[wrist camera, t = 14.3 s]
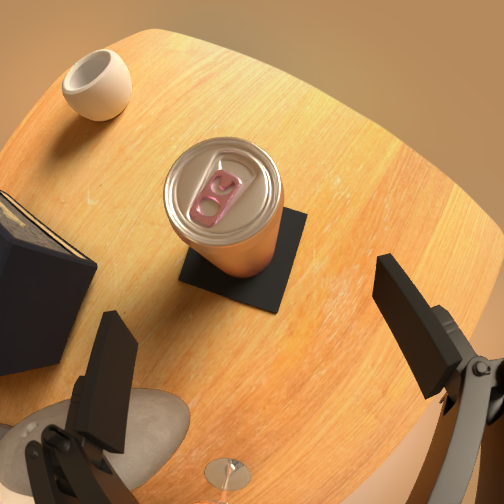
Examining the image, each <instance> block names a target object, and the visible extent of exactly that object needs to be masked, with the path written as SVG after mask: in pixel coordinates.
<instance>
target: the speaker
mask: <svg viewBox="0 0 504 504" xmlns="http://www.w3.org/2000/svg"><path fill="white" fill-rule="evenodd" d="M96 270H97V263H95V262H94V261H92V260H91V259H90V258H88V257H87V256H85V255H84V254H83V253H81V252H80V251H79V250H77V249H76V248H74V247H73V246H72V245H70V244H69V243H68V242H66V241H65V240H64V239H62V238H61V237H60V236H58V235H57V234H56V233H55V232H53V231H52V230H51V229H49V228H48V227H47V226H46V225H44V224H43V223H42V222H41V221H39V220H38V219H37V218H36V217H34V216H33V215H32V214H31V213H30V212H28V211H27V210H26V209H25V208H24V207H22V206H21V205H20V204H19V203H18V202H17V201H15V200H14V199H13V198H12V197H11V196H10V195H9V194H7V193H5V192H3V191H1V190H0V376H4V375H9V374H14V373H19V372H23V371H28V370H32V369H37V368H41V367H45V366H50V365H54V364H58V363H60V360H61V357H62V354H63V351H64V348H65V345H66V342H67V339H68V337H69V334H70V331H71V329H72V326H73V324H74V321H75V318H76V316H77V313H78V311H79V309H80V306H81V304H82V301H83V299H84V297H85V294H86V292H87V290H88V287H89V285H90V283H91V281H92V279H93V276H94V274H95V272H96Z"/></svg>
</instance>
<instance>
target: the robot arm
mask: <svg viewBox="0 0 504 504" xmlns="http://www.w3.org/2000/svg"><path fill="white" fill-rule="evenodd" d="M372 297H373V299H374V301H375V303H376V304H377V306H378V308H379V310H380V312H381V313H382V315H383V317H384V319H385V321H386V322H387V324H388V326H389V328H390V330H391V332H392V333H393V335H394V337H395V339H396V341H397V343H398V345H399V347H400V349H401V351H402V353H403V355H404V356H405V358H406V360H407V362H408V364H409V366H410V368H411V370H412V373H413V375H414V377H415V379H416V381H417V383H418V385H419V387H420V389H421V391H422V393H423V396H424V398H425V400H426V399H428V398H430V397H432V396H434V395H436V394H438V393H440V392H441V390H442V389H443V388H444V387H445V389H446V391H447V392H446V393H445V395H444V396H443V397H442V398H441V400H440V402H439V403H442V402H443V401H444V402H443V406H442V409H441V413H440V417H439V420H438V423H437V426H436V430H435V433H434V436H433V439H432V442H431V445H430V448H429V450H428V453H427V456H426V458H425V461H424V464H423V466H422V469H421V471H420V473H419V476H418V478H417V480H416V483H415V485H414V487H413V489H412V491H411V494H410V496H409V498H408V500H407V502H406V504H461V502H462V500H463V497H464V495H465V492H466V490H467V486H468V484H469V481H470V478H471V475H472V472H473V469H474V466H475V463H476V459H477V456H478V451H479V448H480V444H481V457H480V470H479V478H478V486H477V493H476V499H475V504H504V358H501V359H495V360H488V359H487V358H485V357H483V356H478V355H477V354H476V353H475V351H474V350H473V348H472V347H471V345H470V343H469V342H468V340H467V339H466V337H465V336H464V334H463V333H462V331H461V330H460V328H458V325H457V324H456V322H454V319H453V318H452V316H451V315H450V313H449V312H448V311H447V310H446V309H444V308H443V307H441V306H440V305H437V306H434V307H432V308H430V306H429V305H428V303H427V302H426V301H425V299H424V298H423V296H422V295H421V293H420V292H419V291H418V289H417V288H416V286H415V285H414V284H413V282H412V281H411V280H410V278H409V277H408V276H407V274H406V273H405V272H404V270H403V269H402V268H401V266H400V265H399V264H398V262H397V261H396V260H395V258H394V257H393V256H392V255H391V253H389V254H385V255H381V256H377V263H376V271H375V280H374V287H373V294H372ZM137 349H138V342H137V341H136V340H135V338H134V337H133V335H132V334H131V332H130V331H129V329H128V328H127V327H126V325H125V324H124V322H123V321H122V319H121V318H120V316H119V314H118V313H117V311H116V310H114V311H108V312H104V313H103V316H102V319H101V322H100V325H99V328H98V331H97V335H96V338H95V341H94V345H93V348H92V352H91V355H90V359H89V363H88V366H87V370H86V374H85V376H79V378H78V379H77V381H76V383H75V384H74V388H73V392H72V396H71V401H70V402H71V403H70V405H69V409H68V414H67V419H66V424H65V429H64V430H63V429H61V428H60V427H58V426H57V425H55V424H50V425H48V426H46V427H45V428H44V429H43V431H42V434H41V443H40V442H38V441H36V440H31V441H30V442H28V443H27V445H26V447H25V460H26V466H27V472H28V477H29V482H30V486H31V490H32V495H33V499H34V502H35V504H139V502H138V501H137V500H136V499H135V497H134V496H133V495H132V494H131V492H130V491H129V490H128V488H127V487H126V485H125V484H124V483H123V481H122V480H121V479H120V477H119V476H118V474H117V473H116V471H115V470H114V468H113V467H112V465H111V464H110V462H109V461H108V459H107V458H106V457H105V455H104V454H103V449H104V450H106V451H108V452H109V453H115V454H124V449H125V437H126V427H127V418H128V409H129V401H130V394H131V386H132V380H133V373H134V367H135V361H136V355H137ZM54 476H55V478H56V481H55V478H54Z"/></svg>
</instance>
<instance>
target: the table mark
mask: <svg viewBox="0 0 504 504" xmlns="http://www.w3.org/2000/svg"><path fill="white" fill-rule="evenodd" d="M307 215H308V214H305V213H302V212H299V211H295V210H292V209H289V208H286V207H283V210H282V215H281V220H280V226H279V231H278V236H277V241H276V245H275V250H274V255H273V258H272V260H271V262H270V263H269V265H268V266H267V267H266V268H265V269H264V270H263V271H262V272H260V273H259V274H257V275H255V276H252V277H248V278H237V277H233V276H230V275H228V274H226V273H224V272H223V271H222V270H220V269H219V268H218V267H216V266H215V265H214V264H212V263H211V262H210V261H208V260H207V259H206V258H205V257H203V256H202V255H201V254H199V253H198V252H197V251H195V250H194V249H193V248H191V247H189V250H188V253H187V256H186V258H185V261H184V264H183V267H182V270H181V273H180V276H179V279H178V280H180V281H182V282H185V283H188V284H191V285H194V286H196V287H199V288H202V289H205V290H208V291H211V292H214V293H217V294H219V295H222V296H225V297H228V298H231V299H234V300H237V301H240V302H243V303H246V304H249V305H252V306H256V307H259V308H262V309H265V310H268V311H271V312H274V313H278V310H279V307H280V303H281V300H282V297H283V294H284V291H285V288H286V285H287V282H288V278H289V275H290V272H291V269H292V265H293V262H294V259H295V256H296V252H297V249H298V246H299V242H300V239H301V235H302V232H303V229H304V225H305V222H306V218H307Z"/></svg>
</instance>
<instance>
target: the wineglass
mask: <svg viewBox="0 0 504 504" xmlns="http://www.w3.org/2000/svg"><path fill="white" fill-rule="evenodd" d="M205 476H206V479H207V480H208V481H209V483H210V484H212V485H213V486H214V487H216V488H218V489H221V493H220V496H219V499H218V501H199V502H194V503H192V504H229V503H225V502H226V494H227V491H236V490H239V489H242V488H244V487H245V486H247V484H248V483H249V482H250V479H251V474H250V471H249V469H248V468H247V466H245V465H244V464H243V463H241V462H239V461H237V460H234V459H229V458H222V459H217V460H214V461H212V462H211V463H209V464H208V466H207V467H206V469H205Z"/></svg>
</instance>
